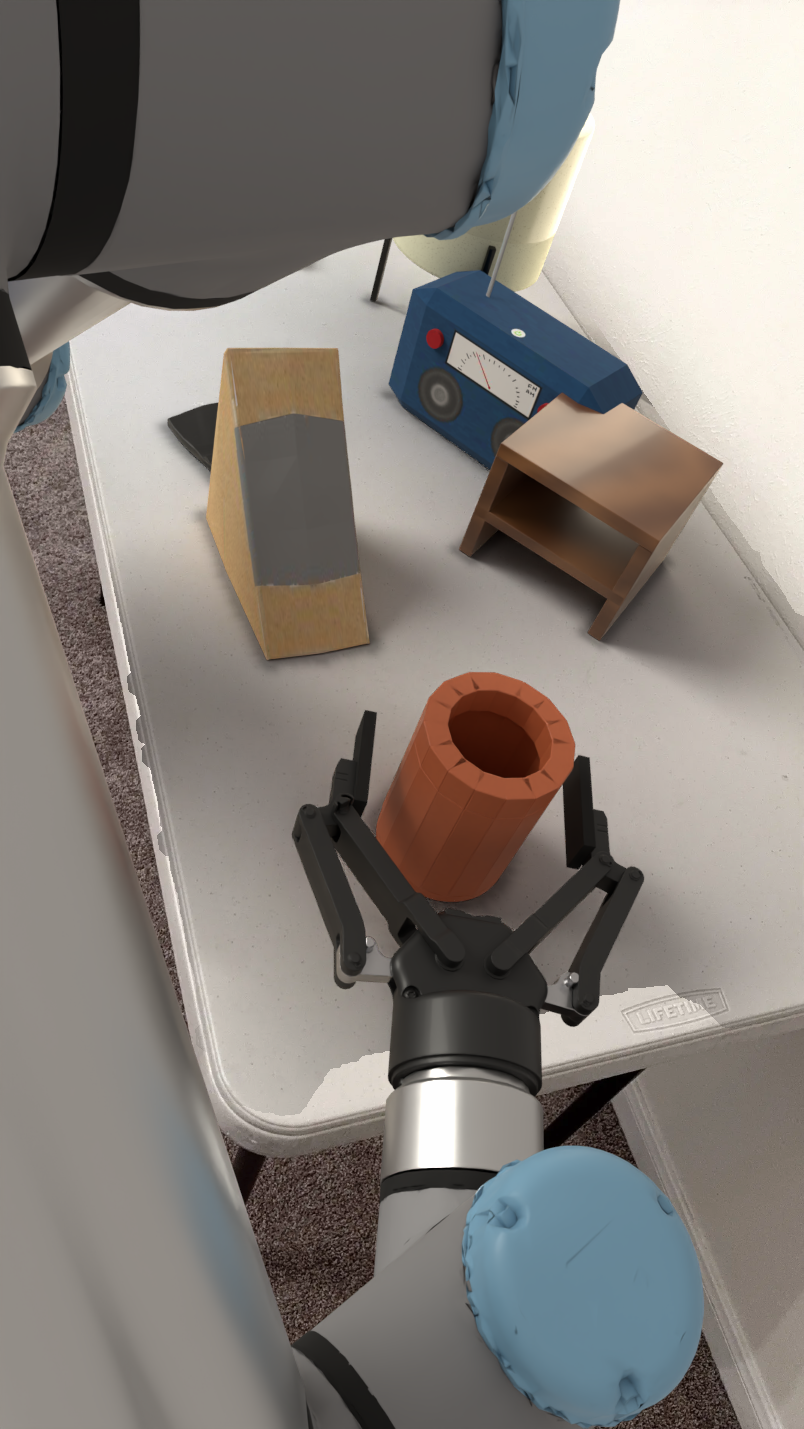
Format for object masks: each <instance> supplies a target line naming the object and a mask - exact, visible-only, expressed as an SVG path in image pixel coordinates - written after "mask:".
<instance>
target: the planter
mask: <svg viewBox="0 0 804 1429" xmlns="http://www.w3.org/2000/svg"><path fill="white" fill-rule="evenodd" d="M595 123H596V122H595V118H594V117H593V115H592V113H591V112H590V114H589V117H588V119H587V120H586V122H585V124H584V126H583V128H582V131H581V133H580V135H579V137H578V139H577V141H576V143H575V145H574V147H573V148H572V150H571V152H570V154H569V155H568V157H567V158H566V160H565V161H564V163H563V164H562V166H561V167H560V168H559V170H558V171H557V173H556V174H555V175H554V177H553V178H552V180H551V181H550V182H549V183H548V184H547V185H546V186H545V187H544V188H543V189H542V190H541V191H540V192H539V193H538V194H537V195H536V196H535V197H534V198H533V199H532V200H531V201H530V202H529V203H527V204H526V205H525V206H523V207H522V208H520V209H519V210H518V211H517V214H516V217H515V220H514V223H513V227H512V230H511V233H510V236H509V239H508V242H507V245H506V248H505V251H504V254H503V258H502V261H501V264H500V267H499V270H498V273H497V276H496V279H495V280H496V281H498V282H500V283H501V284H503V285H504V286H506V287H507V288H509V289H510V290H512V291H514V292H515V293H516V292H521V291H524V290H527V289H528V288H530V287H532V286H533V285H534V284H535V283H536V282H537V281H538V280H539V278H540V275H541V273H542V270H543V268H544V265H545V262H546V259H547V257H548V254H549V252H550V249H551V247H552V244H553V241H554V238H555V236H556V233H557V231H558V227H559V225H560V223H561V220H562V218H563V214H564V213H565V212H564V211H565V209H566V207H567V203H568V201H569V199H570V196H571V193H572V191H573V188H574V185H575V182H576V179H577V177H578V174H579V172H580V170H581V167H582V164H583V161H584V159H585V156H586V153H587V150H588V148H589V145H590V142H591V140H592V138H593V134H594V132H595V129H596V128H595V127H596V124H595ZM511 215H512V214H511ZM511 215H509V216H507V217H506V218H503V219H501V220H498V221H495V222H492V223H489V224H485V225H480V226H476V227H472V228H471V229H470V230H468V231H467V232H466V233H465V234H463V235H461V236H460V237H458V238H455V239H449V240H438V239H436V238H434V237H426V236H424V235H414V236H403V237H395V238H389V239H384V240H383V243H382V248H381V252H380V256H379V260H378V265H377V268H376V273H375V277H374V280H373V286H372V289H371V292H370V293H371V294H370V297H369V301H372V302H374V303H375V302H377V301H378V299H379V294H380V291H381V286H382V283H383V278H384V275H385V270H386V266H387V263H388V258H389V255H390V250H391V246H392V242H393V243H394V244H395V246H396V247H397V248H398V250H399V252H401V253H402V254H403V256H405V257H406V258H407V259H408V260H409V261H411V263H413V264H415V265H416V266H417V267H418V268H420V269H421V270H423V271H424V272H427V273H428V274H430V275H432V276H434V277H435V278H437V279H439V278H442V277H444V276H447V275H450V274H452V273H455V272H461V271H475V270H481V271H482V272H484V273H486V274H487V275H489V276H490V277H492V275H493V271H494V268H495V265H496V262H497V259H498V256H499V253H500V249H501V246H502V243H503V240H504V237H505V234H506V231H507V227H508V224H509V221H510V218H511Z"/></svg>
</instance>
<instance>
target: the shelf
mask: <svg viewBox="0 0 804 1429" xmlns="http://www.w3.org/2000/svg"><path fill="white" fill-rule="evenodd" d="M723 465H724V462H723V461H721V460H720V459H718V458H716V457H714V456H713V455H711V454H710V453H707V452H706V451H704V450H702V449H701V448H699V447H698V446H696V445H695V444H693V443H691V442H689V441H687V440H686V439H684V438H683V437H681V436H678V435H677V434H676V433H674V432H672V431H670V430H669V429H667V428H665V427H663V426H662V425H661V424H659V423H657V422H655V421H654V420H652V419H650V418H649V417H647V416H645V415H644V414H642V413H640V412H638V411H636V410H633V409H632V408H630V407H628V406H627V405H625V404H623V403H621V404H620V405H618V406H616V407H615V408H613V409H612V410H610V411H608V412H607V413H605V414H602V413H599V412H597V411H595V410H592V409H590V408H588V407H585V406H583V405H581V404H578V403H577V402H575V401H574V400H572V399H571V398H570V397H568V396H567V395H565V394H564V393H561V394H560V395H558V396H557V397H556V398H555V399H554V400H552V401H551V402H550V403H549V404H548V405H546V406H545V407H544V408H543V409H542V410H540V411H539V412H538V413H537V414H535V415H534V416H533V417H532V418H531V419H529V420H528V421H527V422H526V423H525V424H523V425H522V426H521V427H520V428H519V429H517V430H516V431H515V432H514V433H513V434H511V435H510V436H509V437H508V438H507V439H505V440H504V441H503V442H502V443H501V444H500V447H499V449H498V452H497V454H496V457H495V459H494V462H493V464H492V467H491V469H490V470H489V472H488V474H487V477H486V480H485V482H484V484H483V487H482V489H481V492H480V495H479V497H478V499H477V502H476V505H475V507H474V510H473V512H472V514H471V517H470V520H469V522H468V525H467V526H466V527H467V528H466V530H465V533H464V535H463V538H462V541H461V543H460V545H459V548H458V550H459V551H460V552H461V553H463V554H465V555H466V556H468V557H472V556H473V555H474V554H475V553H476V552H477V551H478V550H479V549H480V548H482V546H484V545H485V544H486V543H487V542H488V541H489V540H490V539H491V538H492V537H493V536H494V535H495V534H496V533H497V532H498V531H500V532H502V533H503V534H505V535H507V536H508V537H510V538H511V539H513V540H514V541H516V542H517V543H519V544H521V545H522V546H524V547H525V548H527V549H528V550H530V551H531V552H532V553H534V554H536V555H538V556H539V557H541V558H543V559H544V560H546V561H547V562H548V563H550V564H552V565H553V566H555V567H557V568H558V569H560V570H561V571H563V572H564V573H566V574H568V575H569V576H571V577H572V578H574V579H575V580H577V581H578V582H580V583H581V584H583V585H585V586H586V587H588V588H589V589H591V590H592V591H593V592H596V593H597V594H599V595H600V596H602V597H604V599H606V600H605V602H604V603H603V605H602V606H601V609H600V610H599V611H598V614H597V616H596V617H595V619H594V621H593V622H592V624H591V625H590V627H589V629H588V631H587V634H588V635H589V636H591V637H592V638H594V639H595V640H597V641H601V640H602V639H603V637H604V636H605V635H606V634H607V632H608V631H610V629H611V628H612V626H613V625H614V623H615V622H616V621H617V620H618V618H619V617H620V616H621V615H622V613H623V612H624V611H625V610H626V608H627V607H628V606H629V605H630V603H631V602H632V601H633V600H634V598H635V597H636V596H637V595H638V593H639V592H640V591H641V590H642V589H643V587H644V586H645V584H646V583H647V582H648V581H649V579H650V578H651V577H652V575H653V574H654V573H655V572H656V570H657V569H658V568H659V567H660V565H661V564H662V563H663V562H664V560H665V559H666V557H667V556H668V554H669V552H670V551H671V549H672V547H673V546H674V544H675V543H676V541H677V540H678V538H679V536H680V535H681V534H682V532H683V530H684V528H685V527H686V525H687V523H688V522H689V520H690V519H691V517H692V515H693V514H694V513H695V510H696V509H697V507H698V506H699V504H700V503H701V501H702V500H703V498H704V496H705V495H706V493H707V491H708V489H709V488H710V487H711V485H712V483H713V481H714V479H715V478H716V477H717V475H718V474H719V472H720V470H721V468H722V467H723Z"/></svg>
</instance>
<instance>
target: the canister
mask: <svg viewBox="0 0 804 1429" xmlns="http://www.w3.org/2000/svg"><path fill="white" fill-rule="evenodd" d="M575 755H576V742H575V739H574V736H573V734H572V731H571V728H570V724H569V723H568V720H567V718H566V717H565V716H564V715H563V713H562V712H561V711H560V710H559V709H558V708H557V706H556V705H555V704H554V702H552V700H551V699H550V698H548V696H547V695H545V694H544V693H542V692H540V691H539V690H537V689H536V688H535V687H533V686H531V685H530V684H529V683H527V682H525V681H523V680H520V679H518V678H514V677H512V676H508V675H505V674H502V673H499V672H495V671H468V672H465V673H463V674H459V675H457V676H455V677H452V678H448V679H447V680H444V681H443V682H442V683H441V684H440V685H439V686H438V687H437V688H436V689H435V690H434V691H433V692H432V693H431V694H430V696H428V699H427V700H426V703H425V706H424V708H423V710H422V712H421V715H420V717H419V719H418V722H417V724H416V726H415V728H414V731H413V733H412V736H411V737H410V740H409V742H408V745H407V747H406V749H405V752H404V753H403V756H402V758H401V761H400V763H399V766H398V768H397V770H396V772H395V775H394V776H393V779H392V782H391V784H390V786H389V789H388V791H387V793H386V796H385V798H384V800H383V802H382V806H381V809H380V812H379V815H378V818H377V821H376V827H375V837H376V839H377V840H378V841H379V843H380V844H381V846H382V847H383V848H384V850H385V851H386V852H387V854H388V855H389V856H390V858H391V859H392V860H393V862H394V863H395V865H396V866H397V867H398V869H399V870H400V871H401V873H402V874H403V875H404V877H405V878H406V880H407V881H408V882H409V884H410V885H411V886H412V888H413V889H414V890H415V891H416V892H418V893H421V894H423V895H424V896H425V898H426V899H429V900H430V899H431V900H434V901H438V902H445V903H446V902H447V903H459V902H464V901H469V900H472V899H475V898H478V897H480V896H481V895H483V894H485V893H486V892H488V891H489V890H490V889H492V887H494V886H495V884H496V883H497V882H498V880H499V879H500V877H501V876H502V875H503V873H504V872H505V870H506V869H507V868H508V866H509V865H510V863H511V862H512V861H513V859H514V857H515V856H516V854H517V853H518V852H519V850H520V849H521V847H522V846H523V844H524V843H525V841H526V839H527V838H528V836H529V835H530V834H531V832H532V831H533V829H534V828H535V826H536V825H537V823H538V822H539V820H540V819H541V817H542V816H543V814H544V813H545V811H546V810H547V808H548V807H549V806H550V804H551V802H552V801H553V800H554V798H555V797H556V795H557V793H559V790H560V789H561V788H562V787H563V783H564V782H565V780H566V779H567V777H568V776H569V774H570V773H571V771H572V769H573V766H574V761H575Z"/></svg>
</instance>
